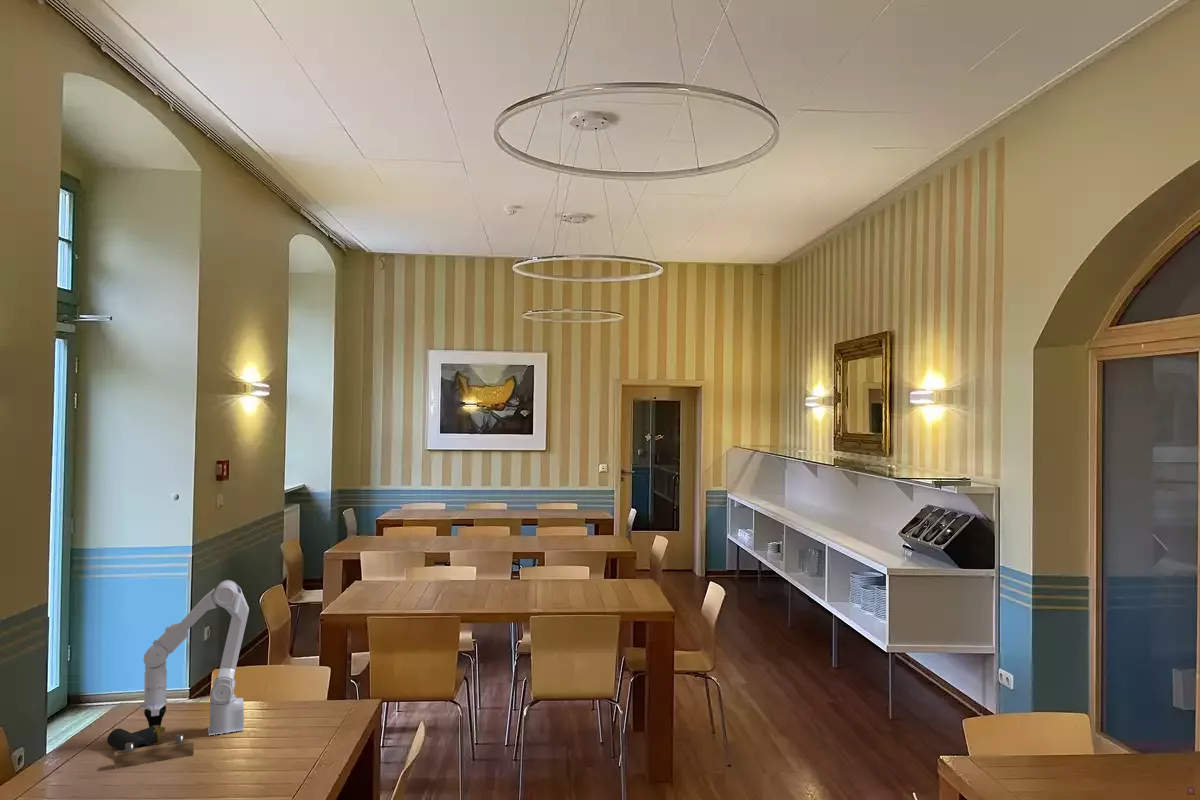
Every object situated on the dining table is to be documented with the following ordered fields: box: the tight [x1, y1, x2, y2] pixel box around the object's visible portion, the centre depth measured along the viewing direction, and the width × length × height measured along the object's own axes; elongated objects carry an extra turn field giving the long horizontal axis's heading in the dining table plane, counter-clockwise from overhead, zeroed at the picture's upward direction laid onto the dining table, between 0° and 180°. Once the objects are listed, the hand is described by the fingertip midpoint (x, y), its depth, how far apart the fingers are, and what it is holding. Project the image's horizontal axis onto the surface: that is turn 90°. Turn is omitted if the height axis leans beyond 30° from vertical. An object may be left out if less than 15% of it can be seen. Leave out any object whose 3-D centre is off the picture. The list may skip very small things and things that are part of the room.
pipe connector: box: [106, 725, 166, 751], centre depth 232 cm, size 12×5×15 cm
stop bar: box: [113, 733, 195, 769], centre depth 224 cm, size 19×3×6 cm, turn 119°
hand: (154, 733), depth 239 cm, fingers closed
